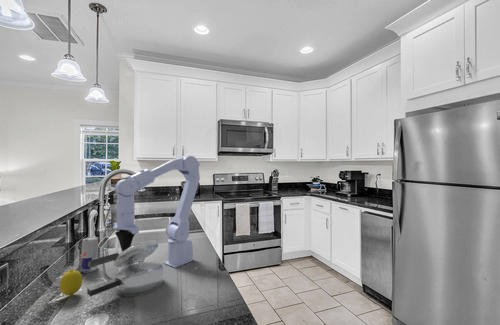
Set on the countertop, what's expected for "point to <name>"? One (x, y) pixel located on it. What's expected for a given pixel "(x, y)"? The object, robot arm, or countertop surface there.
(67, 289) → the lemon
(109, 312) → the countertop surface
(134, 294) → the pot
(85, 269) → the energy drink
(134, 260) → the lid
